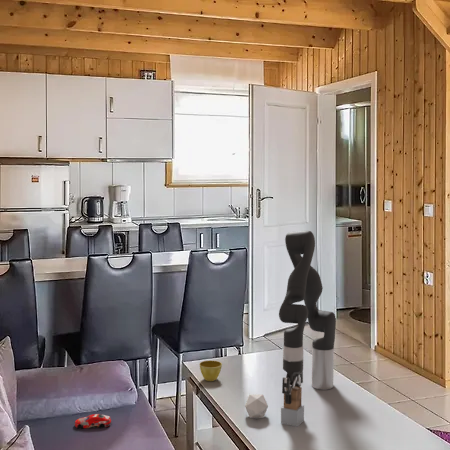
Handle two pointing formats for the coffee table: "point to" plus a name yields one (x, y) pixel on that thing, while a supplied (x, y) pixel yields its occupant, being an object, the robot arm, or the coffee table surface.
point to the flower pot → (210, 369)
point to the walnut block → (294, 398)
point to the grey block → (292, 416)
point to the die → (256, 406)
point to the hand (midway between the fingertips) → (292, 399)
